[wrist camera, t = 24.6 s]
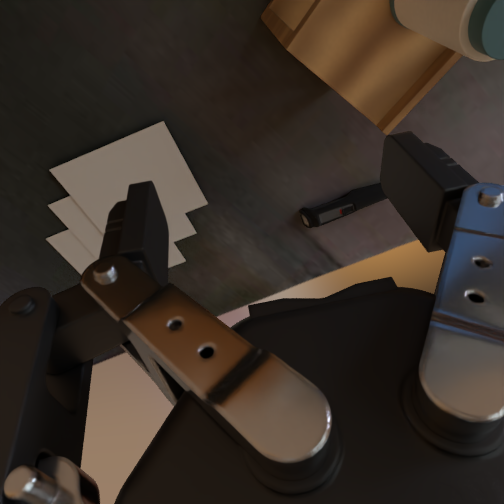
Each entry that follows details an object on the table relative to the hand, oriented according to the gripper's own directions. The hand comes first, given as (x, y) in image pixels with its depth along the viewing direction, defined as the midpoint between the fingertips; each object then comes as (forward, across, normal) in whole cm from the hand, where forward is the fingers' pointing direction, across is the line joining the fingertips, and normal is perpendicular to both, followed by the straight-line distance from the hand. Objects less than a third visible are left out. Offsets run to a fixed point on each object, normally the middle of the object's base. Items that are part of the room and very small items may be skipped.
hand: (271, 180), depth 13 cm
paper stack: (+38, +18, +26) cm, 49 cm away
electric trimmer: (+38, -16, +30) cm, 51 cm away
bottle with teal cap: (+24, -17, 0) cm, 29 cm away
